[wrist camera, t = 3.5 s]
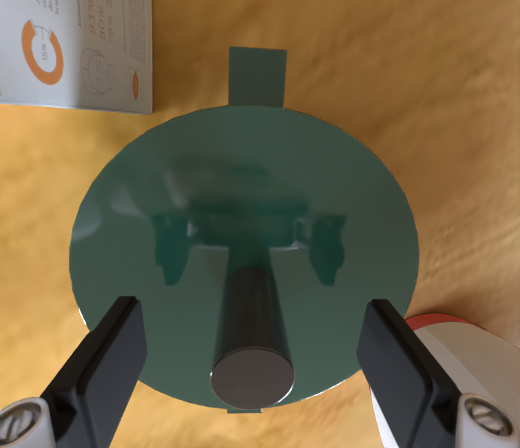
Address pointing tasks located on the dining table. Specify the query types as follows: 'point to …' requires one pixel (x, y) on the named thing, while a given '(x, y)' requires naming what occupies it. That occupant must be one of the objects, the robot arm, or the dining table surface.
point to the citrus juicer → (466, 363)
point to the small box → (77, 54)
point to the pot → (256, 88)
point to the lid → (245, 252)
